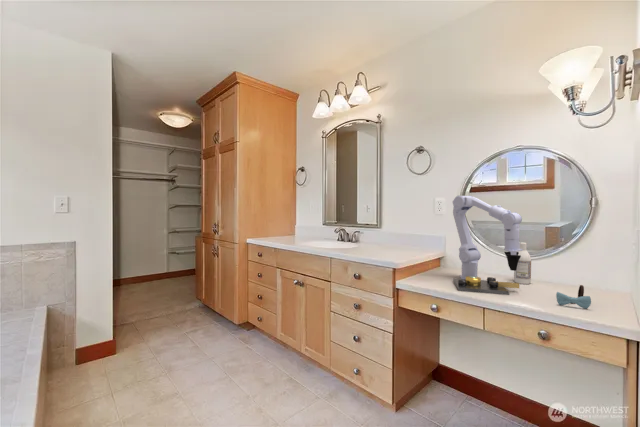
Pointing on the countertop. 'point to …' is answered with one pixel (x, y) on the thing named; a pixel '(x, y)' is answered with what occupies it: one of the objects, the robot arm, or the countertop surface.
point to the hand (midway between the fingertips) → (512, 268)
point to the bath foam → (523, 266)
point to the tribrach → (478, 285)
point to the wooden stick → (503, 284)
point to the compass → (580, 291)
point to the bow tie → (573, 300)
